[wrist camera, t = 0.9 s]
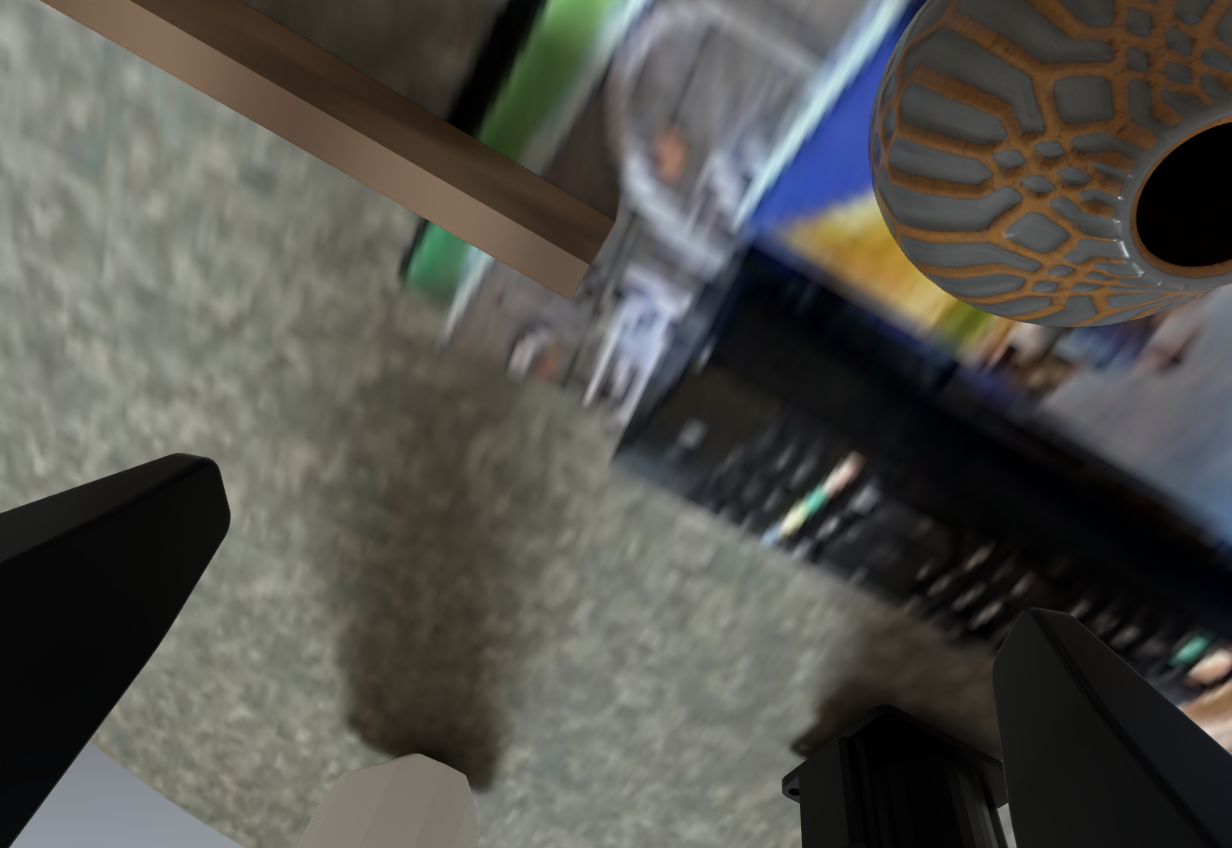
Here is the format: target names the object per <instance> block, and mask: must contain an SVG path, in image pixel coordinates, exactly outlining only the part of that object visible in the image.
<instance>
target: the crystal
mask: <svg viewBox="0 0 1232 848" xmlns="http://www.w3.org/2000/svg"><path fill="white" fill-rule="evenodd" d="M480 835H481V832H480V827H479V823H478V818H477V814H476V809H475V805H474V800H473V796H472V792H471V789H470V786H469V783H468V780H467V778H466V775H464V774H463V773H461V772H459V771H457V770H455V769H453V768H451V767H449V766H448V765H446V764H443V763H441V762H438V761H436V760H434V759H431V758H429V757H427V756H424V755H422V754H414V753H412V754H409V755H406V756H402V757H399V758H395V759H392V760H388V761H385V762H381V763H378V764H374V765H371V766H367V767H364V768H360V769H357V770H354V771H350V772H347V773H343V774H342V775H341V777H340V778H339V779H338V780H337V781H336V782H335V783H334V784H333V786H332V787H331V788H330V789H329V790H328V791H327V792H326V793H325V795H324V796H323V798H322V800H321V802H320V804H319V806H318V807H317V809H316V811H315V813H314V815H313V817H312V819H311V821H310V823H309V824H308V826H307V828H306V830H305V832H304V834H303V836H302V838H301V839H300V841H299V843H298V845H297V847H296V848H476V847H477V844H478V841H479V838H480Z"/></svg>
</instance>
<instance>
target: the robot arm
mask: <svg viewBox="0 0 1232 848" xmlns="http://www.w3.org/2000/svg"><path fill="white" fill-rule="evenodd" d="M230 517H231V514H230V509H229V505H228V501H227V497H226V493H225V489H224V485H223V481H222V477H221V473H220V470H219V467H218V465H217V464H216V463H215V462H214V460H212V459H210V458H207V457H202V456H196V455H191V454H185V453H175V454H171V455H168V456H165V457H162V458H159V459H156V460H153V461H151V462H148V463H145V464H142V465H139V466H136V467H133V468H130V469H127V470H124V471H122V472H119V473H116V474H113V475H110V476H107V477H104V478H101V479H98V480H95V481H93V482H90V483H87V484H84V485H81V486H78V487H75V488H72V489H69V490H66V491H63V492H61V493H58V494H55V495H52V496H49V497H46V498H43V499H40V500H37V501H34V502H32V503H29V504H26V505H23V506H20V507H17V508H14V509H11V510H8V511H5V512H3V513H0V848H9V847H10V846H11V845H12V844H13V842H14V841H15V839H16V838H17V837H18V836H19V834H20V833H21V831H22V830H23V829H24V827H25V826H26V825H27V823H28V822H29V821H30V819H31V818H32V817H33V815H34V814H35V813H36V811H37V810H38V808H39V807H40V806H41V804H42V803H43V802H44V800H45V799H46V798H47V796H48V795H49V794H50V792H51V791H52V790H53V788H54V787H55V786H56V784H57V783H58V782H59V780H60V779H61V778H62V776H63V775H64V774H65V772H66V771H67V770H68V768H69V767H70V766H71V764H72V763H73V762H74V760H75V759H76V757H77V756H78V755H79V753H80V752H81V750H82V749H83V748H84V747H85V745H86V744H87V743H88V741H89V740H90V739H91V737H92V736H93V735H94V733H95V732H96V731H97V729H98V728H99V727H100V725H101V724H102V723H103V721H104V720H105V718H106V717H107V716H108V714H109V713H110V712H111V710H112V709H113V708H114V706H115V705H116V704H117V702H118V701H119V700H120V698H121V697H122V696H123V694H124V693H125V692H126V690H127V689H128V688H129V686H130V685H131V683H132V682H133V681H134V679H135V678H136V677H137V675H138V674H139V673H140V671H141V670H142V669H143V667H144V666H145V665H146V663H147V662H148V660H149V659H150V658H151V656H152V655H153V653H154V652H155V650H156V649H157V648H158V646H159V645H160V643H161V641H162V640H163V638H164V637H165V635H166V634H167V632H168V631H169V629H170V628H171V626H172V624H173V623H174V621H175V619H176V618H177V616H178V614H179V613H180V611H181V609H182V608H183V606H184V604H185V603H186V601H187V599H188V598H189V596H190V594H191V593H192V591H193V589H194V588H195V586H196V584H197V583H198V581H199V579H200V578H201V576H202V574H203V573H204V571H205V569H206V568H207V566H208V564H209V563H210V561H211V559H212V558H213V556H214V554H215V553H216V551H217V549H218V548H219V546H220V544H221V543H222V541H223V539H224V538H225V536H226V534H227V531H228V529H229V525H230ZM992 686H993V693H994V701H995V708H996V716H997V723H998V731H999V738H1000V746H1001V753H1002V761H1003V762H1001V761H999V760H997V759H995V758H993V757H991V756H989V755H987V754H985V753H983V752H981V751H980V750H978V749H976V748H974V747H972V746H970V745H968V744H966V743H964V742H962V741H960V740H958V739H956V738H955V737H953V736H951V735H949V734H947V733H945V732H943V731H941V730H939V729H937V728H935V727H933V726H932V725H930V724H928V723H926V722H924V721H922V720H920V719H918V718H916V717H914V716H912V715H910V714H908V713H907V712H905V711H903V710H901V709H899V708H897V707H895V706H892V705H885V704H884V705H879V706H877V707H875V708H873V709H872V710H871V711H870V712H868V713H867V714H866V715H864V716H863V717H862V718H860V719H859V720H858V721H857V722H855V723H854V724H853V725H851V726H850V727H849V728H847V729H846V730H845V731H844V732H842V733H841V734H840V735H838V736H837V737H836V738H834V739H833V740H832V741H830V742H829V743H828V744H827V745H825V746H824V747H823V748H821V749H820V750H819V751H817V752H816V753H815V754H814V755H812V756H811V757H810V758H808V759H807V760H806V761H804V762H803V763H802V764H801V765H799V766H798V767H797V768H795V769H794V770H793V771H791V772H790V773H789V774H788V775H786V776H785V777H784V778H783V779H782V793H783V794H784V795H785V796H786V797H788V798H790V799H792V800H794V801H796V802H798V803H800V814H801V834H802V848H1008V846H1007V842H1006V839H1005V835H1004V832H1003V828H1002V825H1001V821H1000V818H999V814H998V811H997V809H998V808H1000V807H1001V806H1003V805H1005V804H1007V803H1008V804H1009V810H1010V817H1011V823H1012V828H1013V832H1014V837H1015V841H1016V846H1017V848H1232V755H1231V754H1230V753H1229V752H1227V751H1226V750H1225V749H1224V748H1223V747H1222V746H1221V745H1220V744H1218V743H1217V742H1216V741H1215V740H1214V739H1213V738H1212V737H1210V736H1209V735H1208V734H1207V733H1206V732H1205V731H1204V730H1202V729H1201V728H1200V727H1199V726H1198V725H1197V724H1196V723H1194V722H1193V721H1192V720H1191V719H1190V718H1189V717H1188V716H1186V715H1185V714H1184V713H1183V712H1182V711H1181V710H1180V709H1178V708H1177V707H1176V706H1175V705H1174V704H1173V703H1172V702H1170V701H1169V700H1168V699H1167V698H1166V697H1165V696H1164V695H1163V694H1161V693H1160V692H1159V691H1158V690H1157V689H1156V688H1155V687H1153V686H1152V685H1151V684H1150V683H1149V682H1148V681H1147V680H1145V679H1144V678H1143V677H1142V676H1141V675H1140V674H1139V673H1137V672H1136V671H1135V670H1134V669H1133V668H1132V667H1131V666H1129V665H1128V664H1127V663H1126V662H1125V661H1124V660H1123V659H1121V658H1120V657H1119V656H1118V655H1117V654H1116V653H1115V652H1114V651H1112V650H1111V649H1110V648H1109V647H1108V646H1107V645H1106V644H1104V643H1103V642H1102V641H1101V640H1100V639H1099V638H1098V637H1096V636H1095V635H1094V634H1093V633H1092V632H1091V631H1090V630H1088V629H1087V628H1086V627H1085V626H1084V625H1083V624H1082V623H1080V622H1079V621H1078V620H1077V619H1076V618H1074V617H1073V616H1071V615H1070V614H1067V613H1064V612H1059V611H1054V610H1048V609H1043V608H1037V607H1029V608H1026V609H1024V610H1023V611H1022V612H1021V613H1020V614H1019V615H1018V617H1017V619H1016V620H1015V622H1014V624H1013V626H1012V628H1011V629H1010V631H1009V633H1008V635H1007V637H1006V639H1005V640H1004V642H1003V644H1002V646H1001V648H1000V649H999V651H998V653H997V655H996V657H995V659H994V663H993V667H992Z"/></svg>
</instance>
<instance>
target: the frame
mask: <svg viewBox="0 0 1232 848" xmlns="http://www.w3.org/2000/svg"><path fill="white" fill-rule="evenodd" d="M40 1H42V2H44V3H46V4H47V5H49V6H51V7H53V8H54V9H56V10H58V11H60V12H62V13H63V14H65V15H67V16H69V17H70V18H72V19H74V20H76V21H77V22H79V23H81V24H83V25H84V26H86V27H88V28H90V29H92V30H93V31H95V32H97V33H99V34H100V35H102V36H104V37H106V38H107V39H109V40H111V41H113V42H114V43H116V44H118V45H120V46H122V47H123V48H125V49H127V50H129V51H130V52H132V53H134V54H136V55H137V56H139V57H141V58H143V59H144V60H146V61H148V62H150V63H152V64H153V65H155V66H157V67H159V68H160V69H162V70H164V71H166V72H167V73H169V74H171V75H173V76H174V77H176V78H178V79H180V80H182V81H183V82H185V83H187V84H189V85H190V86H192V87H194V88H196V89H197V90H199V91H201V92H203V93H204V94H206V95H208V96H210V97H212V98H213V99H215V100H217V101H219V102H220V103H222V104H224V105H226V106H227V107H229V108H231V109H233V110H234V111H236V112H238V113H240V114H242V115H243V116H245V117H247V118H249V119H250V120H252V121H254V122H256V123H257V124H259V125H261V126H263V127H264V128H266V129H268V130H270V131H272V132H273V133H275V134H277V135H279V136H280V137H282V138H284V139H286V140H287V141H289V142H291V143H293V144H294V145H296V146H298V147H300V148H302V149H303V150H305V151H307V152H309V153H310V154H312V155H314V156H316V157H317V158H319V159H321V160H323V161H324V162H326V163H328V164H330V165H332V166H333V167H335V168H337V169H339V170H340V171H342V172H344V173H346V174H347V175H349V176H351V177H353V178H354V179H356V180H358V181H360V182H362V183H363V184H365V185H367V186H369V187H370V188H372V189H374V190H376V191H377V192H379V193H381V194H383V195H384V196H386V197H388V198H390V199H392V200H393V201H395V202H397V203H399V204H400V205H402V206H404V207H406V208H407V209H409V210H411V211H413V212H414V213H416V214H418V215H420V216H422V217H423V218H425V219H427V220H429V221H430V222H432V223H434V224H436V225H437V226H439V227H441V228H443V229H444V230H446V231H448V232H450V233H452V234H453V235H455V236H457V237H459V238H460V239H462V240H464V241H466V242H467V243H469V244H471V245H473V246H474V247H476V248H478V249H480V250H482V251H483V252H485V253H487V254H489V255H490V256H492V257H494V258H496V259H497V260H499V261H501V262H503V263H504V264H506V265H508V266H510V267H512V268H513V269H515V270H517V271H519V272H520V273H522V274H524V275H526V276H527V277H529V278H531V279H533V280H535V281H536V282H538V283H540V284H542V285H543V286H545V287H547V288H549V289H550V290H552V291H554V292H556V293H557V294H559V295H561V296H563V297H565V298H566V299H568V300H570V301H571V299H572V297H573V296H574V294H575V292H576V291H577V289H578V287H579V285H580V284H581V282H582V280H583V279H584V277H585V275H586V274H587V272H588V270H589V268H590V267H591V265H592V263H593V262H594V260H595V258H596V256H597V255H598V253H599V251H600V249H601V247H602V246H603V244H604V242H605V240H606V238H607V236H608V234H609V233H610V231H611V229H612V227H613V225H614V223H615V221H614V220H612V219H611V218H609V217H607V216H606V215H604V214H602V213H601V212H599V211H597V210H595V209H594V208H592V207H590V206H589V205H587V204H585V203H584V202H582V201H580V200H578V199H577V198H575V197H573V196H572V195H570V194H568V193H567V192H565V191H563V190H561V189H560V188H558V187H556V186H555V185H553V184H551V183H549V182H548V181H546V180H544V179H543V178H541V177H539V176H538V175H536V174H534V173H532V172H531V171H529V170H527V169H526V168H524V167H522V166H521V165H519V164H517V163H515V162H514V161H512V160H510V159H509V158H507V157H505V156H503V155H502V154H500V153H498V152H497V151H495V150H493V149H492V148H490V147H488V146H486V145H485V144H483V143H481V142H480V141H478V140H476V139H475V138H473V137H471V136H469V135H468V134H466V133H464V132H463V131H461V130H459V129H458V128H456V127H454V126H452V125H451V124H449V123H447V122H446V121H444V120H442V119H440V118H439V117H437V116H435V115H434V114H432V113H430V112H429V111H427V110H425V109H423V108H422V107H420V106H418V105H417V104H415V103H413V102H412V101H410V100H408V99H406V98H405V97H403V96H401V95H400V94H398V93H396V92H394V91H393V90H391V89H389V88H388V87H386V86H384V85H383V84H381V83H379V82H377V81H376V80H374V79H372V78H371V77H369V76H367V75H366V74H364V73H362V72H360V71H359V70H357V69H355V68H354V67H352V66H350V65H348V64H347V63H345V62H343V61H342V60H340V59H338V58H337V57H335V56H333V55H331V54H330V53H328V52H326V51H325V50H323V49H321V48H320V47H318V46H316V45H314V44H313V43H311V42H309V41H308V40H306V39H304V38H303V37H301V36H299V35H297V34H296V33H294V32H292V31H291V30H289V29H287V28H285V27H284V26H282V25H280V24H279V23H277V22H275V21H274V20H272V19H270V18H268V17H267V16H265V15H263V14H262V13H260V12H258V11H257V10H255V9H253V8H251V7H250V6H248V5H246V4H245V3H243V2H241V1H239V0H40Z"/></svg>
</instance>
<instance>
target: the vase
mask: <svg viewBox="0 0 1232 848" xmlns="http://www.w3.org/2000/svg"><path fill="white" fill-rule="evenodd" d="M868 152H869V165H870V173H871V179H872V184H873V189H874V193H875V197H876V200H877V203H878V206H879V208H880V211H881V213H882V216H883V218H884V221H885V223H886V225H887V227H888V229H889V231H890V233H891V235H892V236H893V238H894V239H895V241H896V243H897V244H898V246H899V247H900V248H901V250H902V251H903V252H904V254H905V255H906V256H907V258H908V259H909V260H910V261H911V262H912V264H913V265H914V266H915V267H916V268H917V269H918V270H919V271H920V272H921V273H922V274H923V275H924V276H926V277H927V278H928V279H929V280H931V281H932V282H933V283H935V284H936V285H937V286H938V287H940V288H941V289H942V290H944V291H945V292H947V293H949V294H950V295H952V296H953V297H955V298H957V299H959V300H961V301H963V302H965V303H967V304H969V305H971V306H973V307H975V308H978V309H980V310H983V311H985V312H988V313H991V314H994V315H997V316H1000V317H1003V318H1007V319H1011V320H1015V321H1019V322H1025V323H1031V324H1037V325H1044V326H1055V327H1086V326H1100V325H1109V324H1115V323H1120V322H1125V321H1130V320H1134V319H1138V318H1142V317H1145V316H1149V315H1152V314H1156V313H1159V312H1162V311H1165V310H1168V309H1171V308H1173V307H1176V306H1178V305H1181V304H1183V303H1186V302H1188V301H1190V300H1192V299H1194V298H1197V297H1199V296H1201V295H1203V294H1205V293H1207V292H1208V291H1210V290H1212V289H1214V288H1216V287H1219V286H1223V285H1227V284H1230V283H1232V0H927V1H926V2H925V3H924V5H923V6H922V7H921V8H920V10H919V11H918V12H917V13H916V15H915V16H914V18H913V19H912V20H911V22H910V23H909V25H908V26H907V28H906V29H905V31H904V32H903V34H902V36H901V37H900V39H899V41H898V42H897V44H896V46H895V48H894V50H893V52H892V54H891V56H890V58H889V60H888V62H887V65H886V67H885V69H884V71H883V74H882V77H881V80H880V82H879V85H878V88H877V92H876V95H875V99H874V103H873V108H872V113H871V118H870V126H869V140H868Z"/></svg>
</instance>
